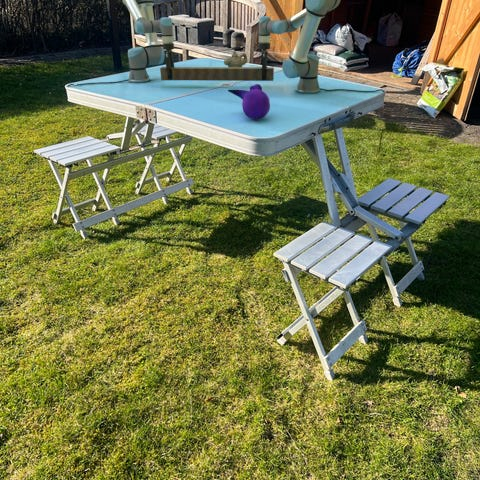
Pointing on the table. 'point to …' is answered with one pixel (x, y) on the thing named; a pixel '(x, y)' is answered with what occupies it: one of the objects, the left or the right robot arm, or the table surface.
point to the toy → (254, 102)
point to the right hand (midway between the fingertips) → (264, 79)
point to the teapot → (236, 60)
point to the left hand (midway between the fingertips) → (171, 78)
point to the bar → (218, 73)
